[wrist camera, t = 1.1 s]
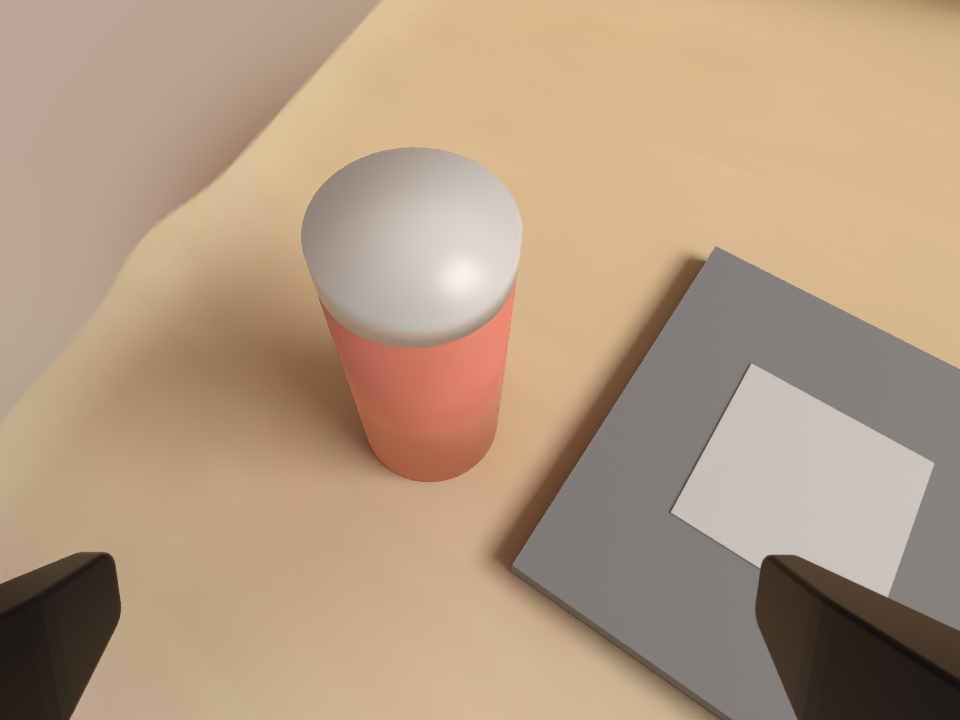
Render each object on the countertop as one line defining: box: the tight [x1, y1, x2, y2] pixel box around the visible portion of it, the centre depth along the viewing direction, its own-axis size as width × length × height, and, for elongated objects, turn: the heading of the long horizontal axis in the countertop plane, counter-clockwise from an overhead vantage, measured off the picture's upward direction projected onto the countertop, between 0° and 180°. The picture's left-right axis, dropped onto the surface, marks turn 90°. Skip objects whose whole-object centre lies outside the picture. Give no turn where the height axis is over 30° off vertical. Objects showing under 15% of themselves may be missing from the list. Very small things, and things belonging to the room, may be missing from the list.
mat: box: [510, 247, 960, 720], centre depth 23 cm, size 16×14×1 cm
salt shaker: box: [301, 148, 522, 482], centre depth 19 cm, size 5×5×11 cm
